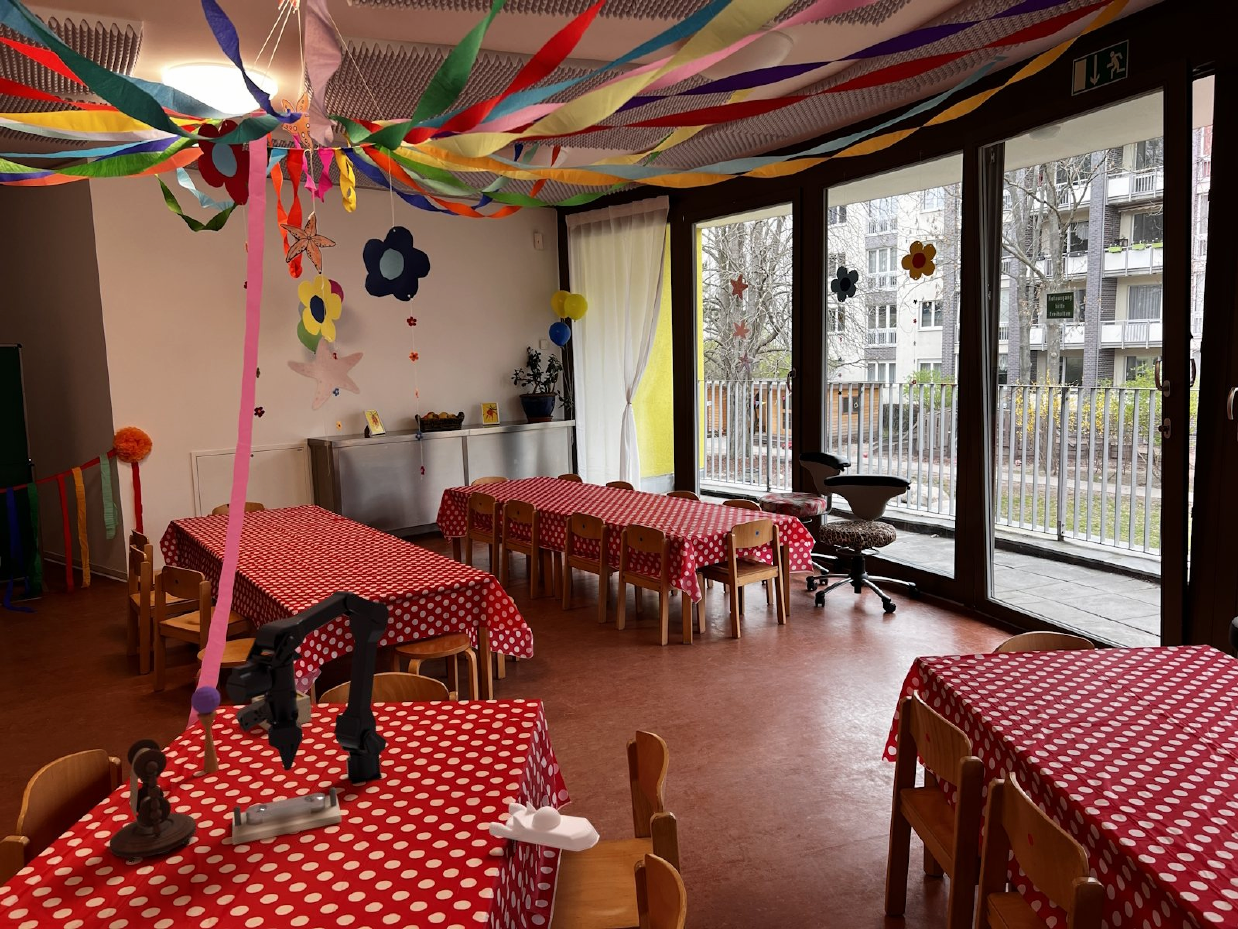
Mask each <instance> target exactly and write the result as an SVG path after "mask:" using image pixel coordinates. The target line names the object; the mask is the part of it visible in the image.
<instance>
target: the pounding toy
mask: <svg viewBox="0 0 1238 929" xmlns="http://www.w3.org/2000/svg"><path fill="white" fill-rule="evenodd" d="M296 691H297V706H298V715H299V717H298V719H297V721H298V722H299V723H301V725H302V724H306V723H308V722H312V708H314V706H313V705H311V696H309V695H307V694H306V693H303V692H302V691H300V690H298V689H296ZM263 698H264V694H262V695H260V696H257V697H255V698H252V699H251V704H252V703H254V702H256V701H259V700H261V699H263ZM257 725H258V726H260V727H261V728H263V729H264V730H266V731H267V732H268V729H269V727H270V726H271V725H270V724H269V723H266V720H265V721H263V722H261V723H259V724H257Z"/></svg>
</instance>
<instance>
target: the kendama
mask: <svg viewBox="0 0 1238 929" xmlns="http://www.w3.org/2000/svg"><path fill="white" fill-rule="evenodd" d="M190 699H191V700H190V701H191V707H192V708H193V710H194V711H195V712H197V714H196V717H197V719H198V720H199V721H200V723H201V724H202V726H203V728H204V729H205V730H204V731H205V733H204V735H205V736H204V754H203V755H204V756H203V772H204V773H215V772H217V771H219V770H220V767H219V763H218V757H217V753H216V748H215V742H214V738H213V732H212V725H213V723H214V721H215V718H216V716H217V713H218V711H217V710H216V709H217V708H218V707H219V705H220V703H221V694H220V692H219V691H218V689H216V688H215V687H213V686H208V685H205V686H201V687H199V688H198V689H196V690H195V692H193V693H192V695H191V698H190Z"/></svg>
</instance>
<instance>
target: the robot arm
mask: <svg viewBox="0 0 1238 929" xmlns="http://www.w3.org/2000/svg"><path fill="white" fill-rule="evenodd" d="M342 615H343V616H346V617H348V623H349V627H348V628H349V630H350V633H351V634H352V635H351V636H352V637H353V640H354V642H353V643H354V644H353V645H354V646H353V655H352V662H351V663H352V664H351V671H350V680H349V689H348V699H347V706H346V708H345V710H344V711H343V712H342V714H337V715H336V716H335V728H334V731H333V734H335V740H336V742H337V743H338V744H339V745H340V747H341V751H343V752H348V757H346V771H347V779H348V780H349V781H350V783H351V784H352V785H356V784H362V783H367V782H370V781H376V780H382V778H383V776H382V773H381V760H380V758H381V757H380V755H381V754H382V752H383V751H386V747H387V746H386V745H387V739H386V738H384V737H383V736H382V735H381V734H379V733H378V732H377V719H376V717H375V715H374V713H373V712H374V711H373V710H372V698H373V686H374V679H375V670H376V661H377V652H378V644H379V641H380V639H381V638H382V637H383V635H384V634H385V632H386V630H387V627H388V622H389V618H390V610H389V607H387V605H386V604H385V603H383V602H380V601H379V602H378V601H372V600H370V599H367V598H365V597H362V596H359V595H358V594H356V593H354V592H353V591H346V590H345V591H344V590H337V591H334V592H333V593H332V594H331V595H330V596H328V597H326V598H324V599H323V600H320V602H318V603H316V604H314V605H312V606H310V607H308V608H306V609H305V610H303V611H302V612H299V613H297V614H295V615H294V616H291V617H287V618H282V619H276V620H273V621H270V622H268V623H265V624H263V625H262V626H259V628H258V630H257V633H256V637H255V638H254V641H253V643H252V645H251V647H250V650H249V651H248V654H247V656H246V658H245V662H246V663H245V664H242V665H237V666H234V667H232V668H231V674H230V675H229V676H228V678H227V681H226V683H225V689H226V692H227V695H228V698H230V700H231V701H232V702H234V703H235V704H242V703H245V702H247V701H250V700H252V698H255V697H258V696H262V695H264V698H263V699H261V700H259V701H256V702H254V703H252V702H251V703H249V704H248V705H247V706H244V707H242V708H240V709H239V710H237V711H236V714H235V716H236V717H235V719H236V721H237V722H238V725H239V727H240V728H241V730H242V732H247V731H250V730H252V729H251V728H253V727H255V726H257V725H258V724H259V723H261V722H263V721H265V720H266V723H269V724H270V725H271V726H270V727H269V729H268V731H267V740H268V741H267V742H268V745H269V746H270V747H271V748H275V749H276V750H278V753H279V756H280V760H281V763H282V766H283V768H284V771H286V772H287V771H290V770H291V769H292V766H293V764H294V761H295V759H296V756H297V753H298V750H299V748H300V745H301V743H302V741H303V739H304V737H303V736H304V735H303V727H302V724H301V723H299V722H298V721H297V719H298V717H299V715H298V706H297V691H296V690H297V687H296V686H297V685H296V684H297V683H296V674H295V673H296V671H295V662H296V661H298V660H299V661H300V660H302V659H303V655H302V654H301V653H299V652H298V651H296V650H297V649H298V648H299V647H300V646H301V645H302V644H303V643H304V642H305V639H306V637H308V636H309V635H310V634H311V633H314V632H315V631H317V630H318V629H320V628H322V627H324V626H325V625H326V624H329V623H330V622H331V621H334V620H335V619H338V618H339V617H340V616H342ZM263 653H267V654H268V655H267V654H263ZM269 654H271V655H269ZM272 654H273V655H272Z"/></svg>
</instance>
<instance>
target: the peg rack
mask: <svg viewBox="0 0 1238 929" xmlns="http://www.w3.org/2000/svg"><path fill="white" fill-rule="evenodd" d="M337 795H338V794H337V790H336V787H330V788H329V795H325V801H326V808H325V809H324V810H323V811H321V812H319V813H314V814H307V815H302V816H297V817H292V818H287V819H282V820H277V821H272V822H268V823H263V824H260V825H255V826H250V825H247V823H246V811H244V812H241V806H239V805H237V806H234V807H233V814H232V836H231V838H232V845H238V844H243V843H248V842H249V843H250V842H253V841H258V840H262V839H267V838H271V837H277V836H282V835H286V834H290V833H296V832H300V831H305V830H310V829H314V828H315V829H316V828H320V827H325V826H328V825H329V826H330V825H333V824H338V823H342V814H341V809H340V805H339V799H338V796H337Z"/></svg>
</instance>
